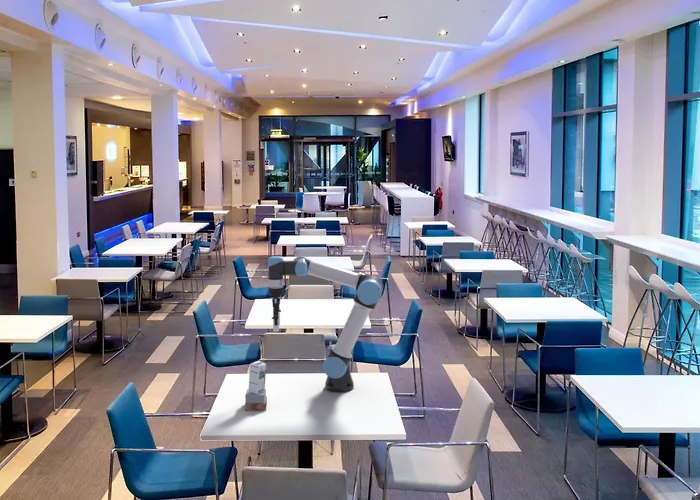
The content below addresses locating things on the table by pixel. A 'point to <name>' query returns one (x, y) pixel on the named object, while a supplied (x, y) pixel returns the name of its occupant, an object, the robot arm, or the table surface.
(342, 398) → the table surface
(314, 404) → the table surface
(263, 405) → the walnut base block
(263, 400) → the slate top block
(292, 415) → the table surface
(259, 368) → the syrup box
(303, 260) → the robot arm
